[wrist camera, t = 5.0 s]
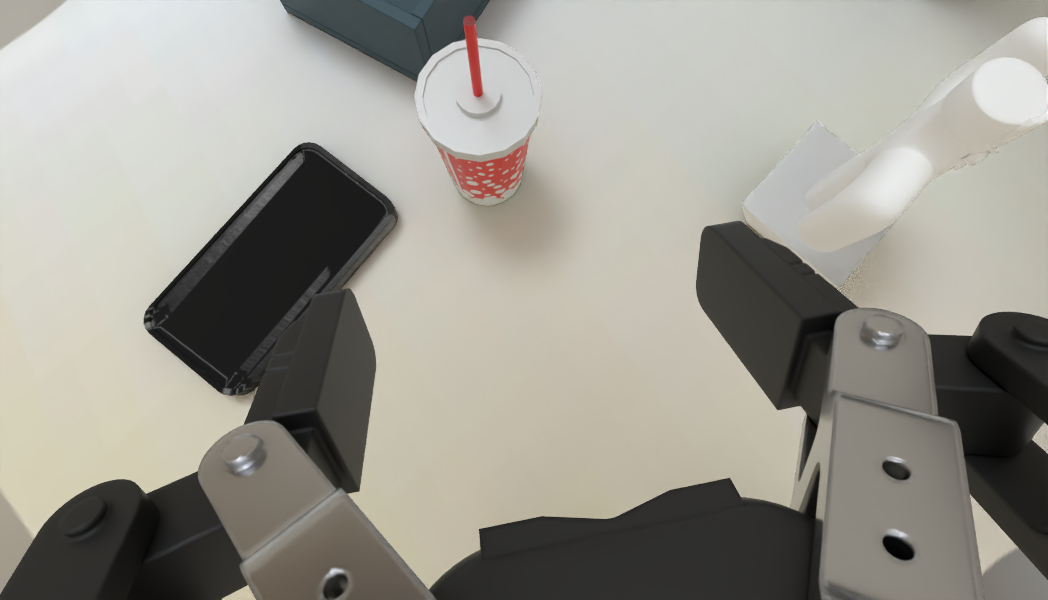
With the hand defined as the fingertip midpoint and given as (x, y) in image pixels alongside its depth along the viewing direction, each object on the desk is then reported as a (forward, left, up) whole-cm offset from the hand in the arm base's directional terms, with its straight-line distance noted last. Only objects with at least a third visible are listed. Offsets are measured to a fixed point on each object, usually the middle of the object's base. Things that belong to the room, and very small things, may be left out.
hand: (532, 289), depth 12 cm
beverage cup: (-9, -8, -20) cm, 23 cm away
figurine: (-16, +11, -20) cm, 28 cm away
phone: (+3, -16, -20) cm, 25 cm away
